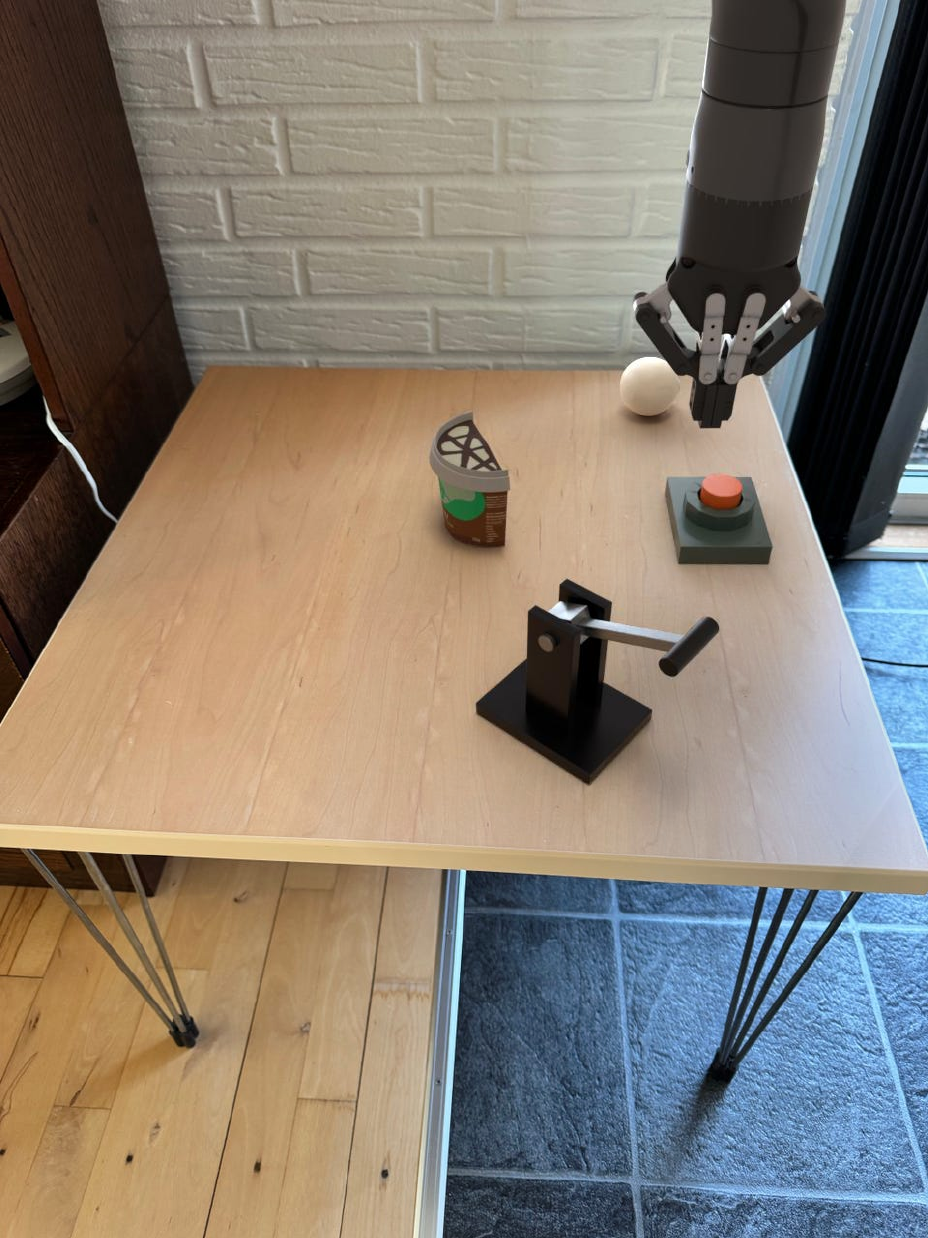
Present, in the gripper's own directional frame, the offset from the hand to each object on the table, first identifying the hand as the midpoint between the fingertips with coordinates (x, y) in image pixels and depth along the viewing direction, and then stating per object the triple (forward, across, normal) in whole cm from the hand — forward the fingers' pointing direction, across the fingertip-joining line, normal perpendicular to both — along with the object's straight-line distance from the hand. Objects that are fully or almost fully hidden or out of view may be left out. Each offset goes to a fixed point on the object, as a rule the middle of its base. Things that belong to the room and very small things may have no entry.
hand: (708, 422), depth 70 cm
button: (+21, +7, +20) cm, 30 cm away
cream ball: (+25, +2, +43) cm, 50 cm away
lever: (+13, -6, -10) cm, 17 cm away
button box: (+25, +7, +20) cm, 33 cm away
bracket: (+25, -10, -6) cm, 28 cm away
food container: (+25, -19, +20) cm, 38 cm away
